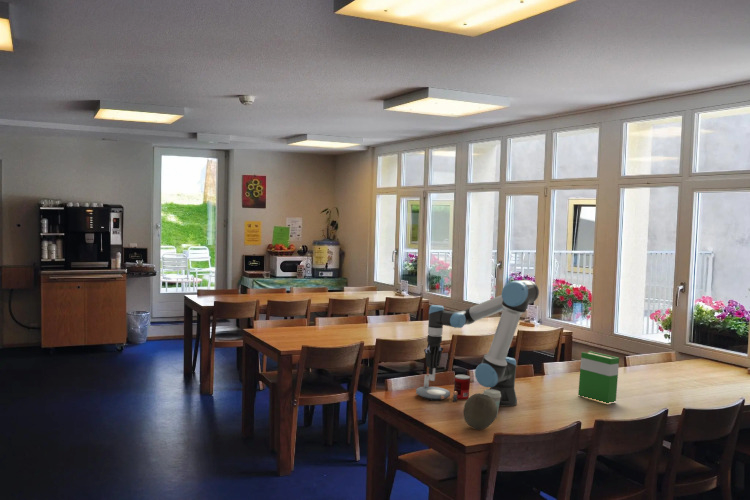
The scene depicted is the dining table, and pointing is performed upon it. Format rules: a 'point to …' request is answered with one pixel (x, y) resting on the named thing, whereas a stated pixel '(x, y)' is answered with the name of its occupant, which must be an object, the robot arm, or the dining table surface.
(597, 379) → the hardback book
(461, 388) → the canned food
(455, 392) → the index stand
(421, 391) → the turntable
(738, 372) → the dining table surface
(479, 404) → the cantaloupe
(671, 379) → the dining table surface
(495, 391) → the coffee cup
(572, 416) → the dining table surface
